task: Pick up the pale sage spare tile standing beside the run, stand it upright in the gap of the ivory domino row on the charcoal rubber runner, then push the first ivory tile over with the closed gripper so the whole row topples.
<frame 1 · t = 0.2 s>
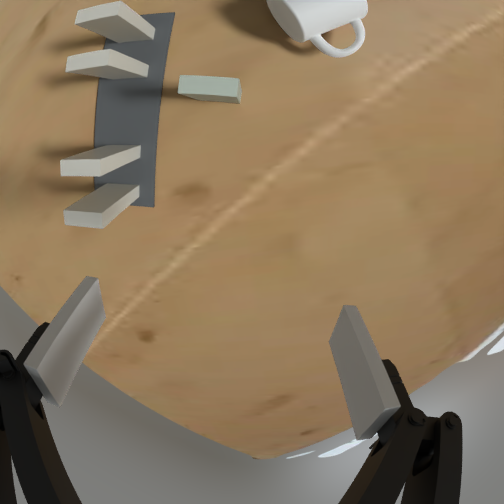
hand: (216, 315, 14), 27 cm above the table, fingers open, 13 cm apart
spare tile: (220, 95, 32), on the table
tile 1: (136, 35, 27), resting on runner
mug: (318, 25, 28), on the table
tile 5: (122, 189, 38), resting on runner
runner: (127, 107, 32), on the table
tile 4: (123, 151, 35), resting on runner
tile 2: (130, 72, 30), resting on runner
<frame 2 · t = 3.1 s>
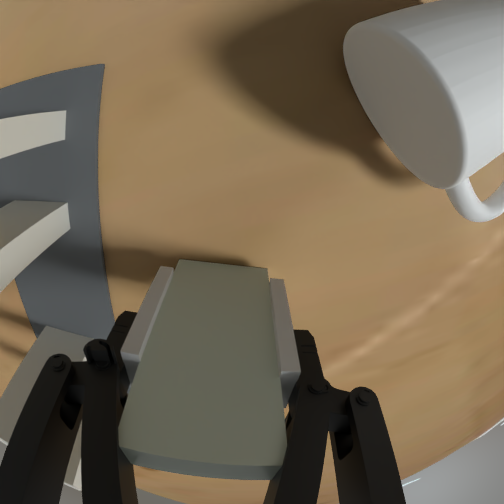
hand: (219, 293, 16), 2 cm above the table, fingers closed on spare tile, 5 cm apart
spare tile: (221, 276, 18), on the table, touching gripper
tile 1: (35, 128, 12), resting on runner
mug: (434, 107, 13), on the table
tile 5: (87, 378, 23), resting on runner
runner: (54, 276, 17), on the table
tile 4: (71, 339, 20), resting on runner
tile 2: (40, 213, 15), resting on runner
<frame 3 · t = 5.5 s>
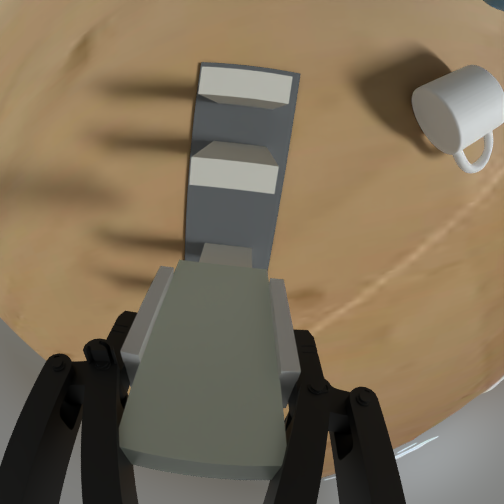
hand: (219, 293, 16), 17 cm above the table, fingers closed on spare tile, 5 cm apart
spare tile: (221, 277, 18), point 15 cm above the table, touching gripper
tile 1: (246, 97, 25), resting on runner
mug: (446, 119, 26), on the table
runner: (233, 198, 30), on the table
tile 4: (227, 252, 33), resting on runner
tile 2: (239, 151, 28), resting on runner
when the fingers open (3 cm above the table, at t = 8.3 s): spare tile stays where it is, resting on runner.
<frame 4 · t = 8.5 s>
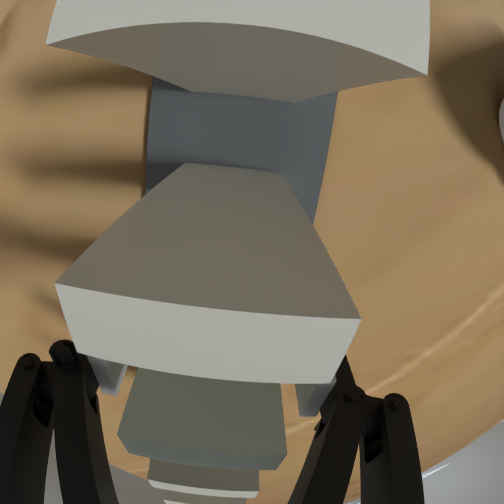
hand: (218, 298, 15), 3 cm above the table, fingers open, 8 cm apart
spare tile: (222, 273, 18), resting on runner
tile 1: (245, 80, 13), resting on runner
tile 5: (214, 381, 23), resting on runner
runner: (223, 262, 18), on the table
tile 4: (217, 337, 21), resting on runner
tile 2: (231, 182, 15), resting on runner
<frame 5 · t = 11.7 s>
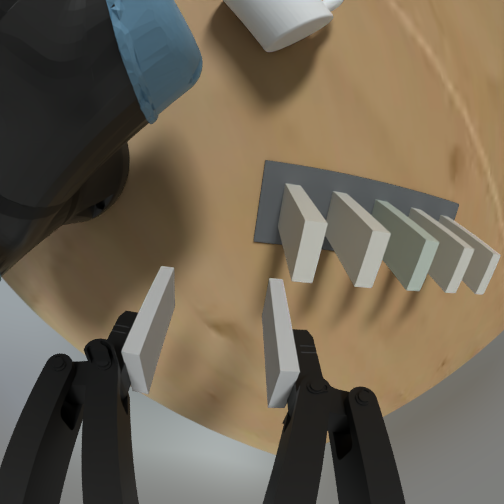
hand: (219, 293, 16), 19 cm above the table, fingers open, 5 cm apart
spare tile: (376, 220, 34), resting on runner
tile 1: (289, 206, 33), resting on runner
mug: (283, 5, 22), on the table
tile 5: (439, 232, 35), resting on runner
runner: (370, 218, 34), on the table
tile 4: (410, 226, 34), resting on runner
tile 2: (335, 213, 33), resting on runner
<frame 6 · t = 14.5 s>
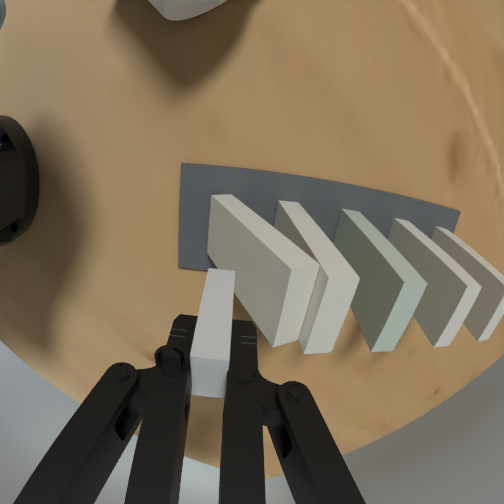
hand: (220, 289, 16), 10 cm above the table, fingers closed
spare tile: (343, 237, 26), resting on runner
tile 1: (218, 224, 24), point 1 cm above the table, tilted 25°, touching runner
tile 5: (433, 249, 27), resting on runner
runner: (336, 234, 26), on the table
tile 4: (393, 243, 26), resting on runner
tile 2: (283, 230, 25), resting on runner, tilted 6°
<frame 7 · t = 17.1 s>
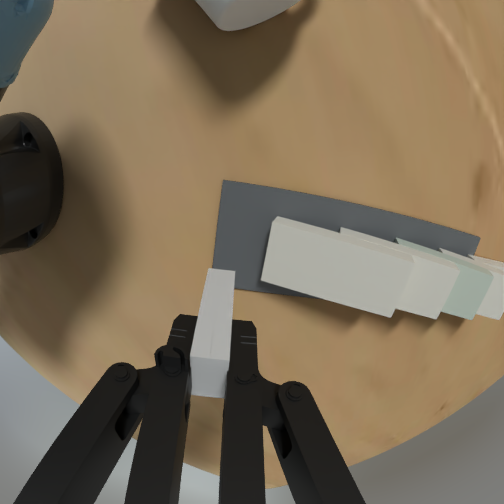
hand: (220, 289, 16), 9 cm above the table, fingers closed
spare tile: (388, 266, 25), point 1 cm above the table, tilted 72°, touching runner, tile 2, tile 4
tile 1: (269, 248, 24), point 1 cm above the table, tilted 72°, touching tile 2
tile 5: (463, 278, 26), point 1 cm above the table, tilted 92°, touching runner, tile 4
runner: (367, 258, 26), on the table
tile 4: (432, 273, 25), point 1 cm above the table, tilted 72°, touching spare tile, tile 5
tile 2: (332, 257, 25), point 1 cm above the table, tilted 72°, touching runner, spare tile, tile 1
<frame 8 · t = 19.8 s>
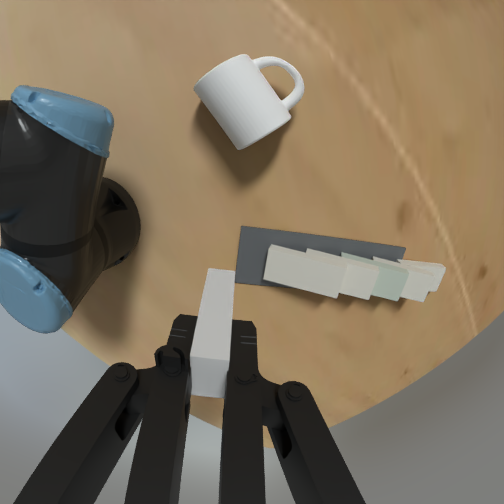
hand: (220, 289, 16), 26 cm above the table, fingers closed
spare tile: (337, 268, 45), point 1 cm above the table, tilted 72°, touching runner, tile 2, tile 4
tile 1: (267, 261, 44), point 1 cm above the table, tilted 72°, touching tile 2
mug: (255, 95, 34), on the table
tile 5: (394, 274, 46), point 1 cm above the table, tilted 92°, touching runner, tile 4
runner: (325, 264, 46), on the table
tile 4: (368, 272, 46), point 1 cm above the table, tilted 72°, touching spare tile, tile 5
tile 2: (302, 265, 45), point 1 cm above the table, tilted 72°, touching runner, spare tile, tile 1
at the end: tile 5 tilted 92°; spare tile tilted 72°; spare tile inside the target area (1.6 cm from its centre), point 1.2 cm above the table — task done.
